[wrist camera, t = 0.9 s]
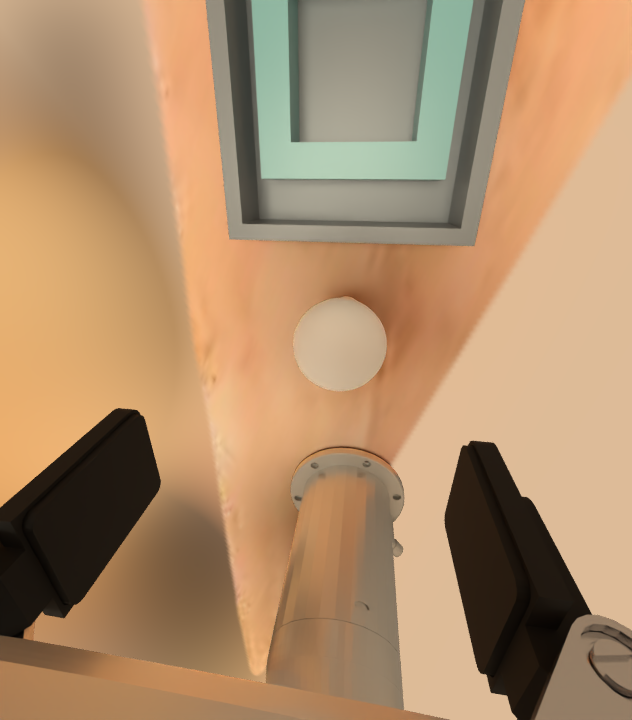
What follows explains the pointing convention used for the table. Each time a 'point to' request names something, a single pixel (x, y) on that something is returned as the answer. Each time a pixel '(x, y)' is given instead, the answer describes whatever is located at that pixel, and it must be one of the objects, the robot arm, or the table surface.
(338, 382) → the lightbulb
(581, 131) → the table surface
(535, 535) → the robot arm
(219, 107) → the open box
